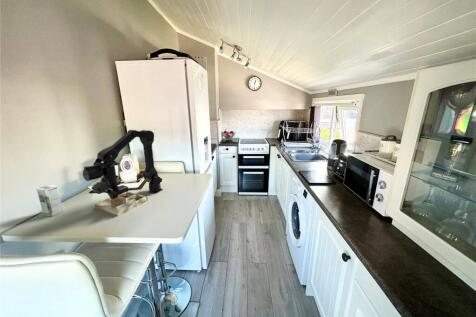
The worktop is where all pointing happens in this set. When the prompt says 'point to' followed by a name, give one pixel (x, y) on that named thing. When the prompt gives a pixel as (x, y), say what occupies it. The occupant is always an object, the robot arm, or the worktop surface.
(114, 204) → the walnut block
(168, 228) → the worktop surface
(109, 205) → the trap board
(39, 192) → the syrup box
